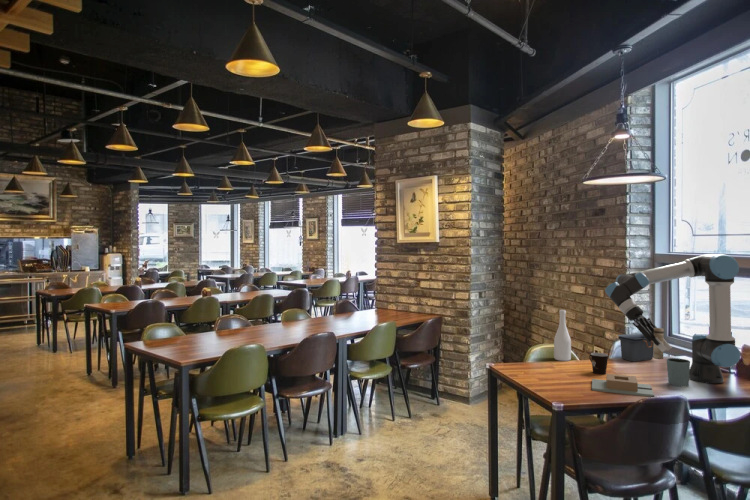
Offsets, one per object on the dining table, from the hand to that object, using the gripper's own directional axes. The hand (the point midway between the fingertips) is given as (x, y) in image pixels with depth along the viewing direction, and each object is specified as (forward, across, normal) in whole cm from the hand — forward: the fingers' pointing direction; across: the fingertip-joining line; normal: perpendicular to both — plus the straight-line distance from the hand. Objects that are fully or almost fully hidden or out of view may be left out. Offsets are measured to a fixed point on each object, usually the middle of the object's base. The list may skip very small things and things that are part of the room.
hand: (667, 349), depth 228 cm
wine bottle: (-34, -25, -64) cm, 77 cm away
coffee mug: (-14, -14, -44) cm, 48 cm away
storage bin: (-15, -61, -45) cm, 77 cm away
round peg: (+1, 0, -6) cm, 6 cm away
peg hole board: (+2, +7, -27) cm, 28 cm away
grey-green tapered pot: (+11, -24, -18) cm, 32 cm away
